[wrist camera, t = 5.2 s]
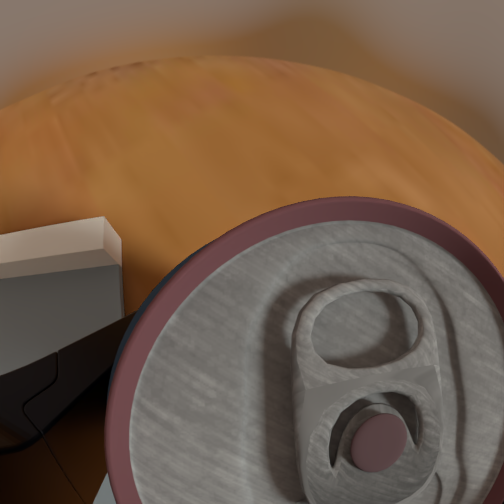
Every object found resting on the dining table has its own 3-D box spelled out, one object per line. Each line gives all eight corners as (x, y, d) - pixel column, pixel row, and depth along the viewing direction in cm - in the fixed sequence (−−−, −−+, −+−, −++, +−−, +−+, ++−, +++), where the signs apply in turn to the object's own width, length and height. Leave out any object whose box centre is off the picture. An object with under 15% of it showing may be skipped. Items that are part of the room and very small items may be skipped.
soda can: (334, 443, 13) (531, 535, 2) (188, 456, 12) (119, 642, 1) (323, 306, 15) (510, 175, 4) (179, 314, 15) (68, 160, 3)
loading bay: (157, 504, 12) (146, 528, 9) (-20, 475, 10) (-46, 484, 8) (121, 239, 17) (104, 216, 14) (-39, 264, 15) (-65, 250, 12)
